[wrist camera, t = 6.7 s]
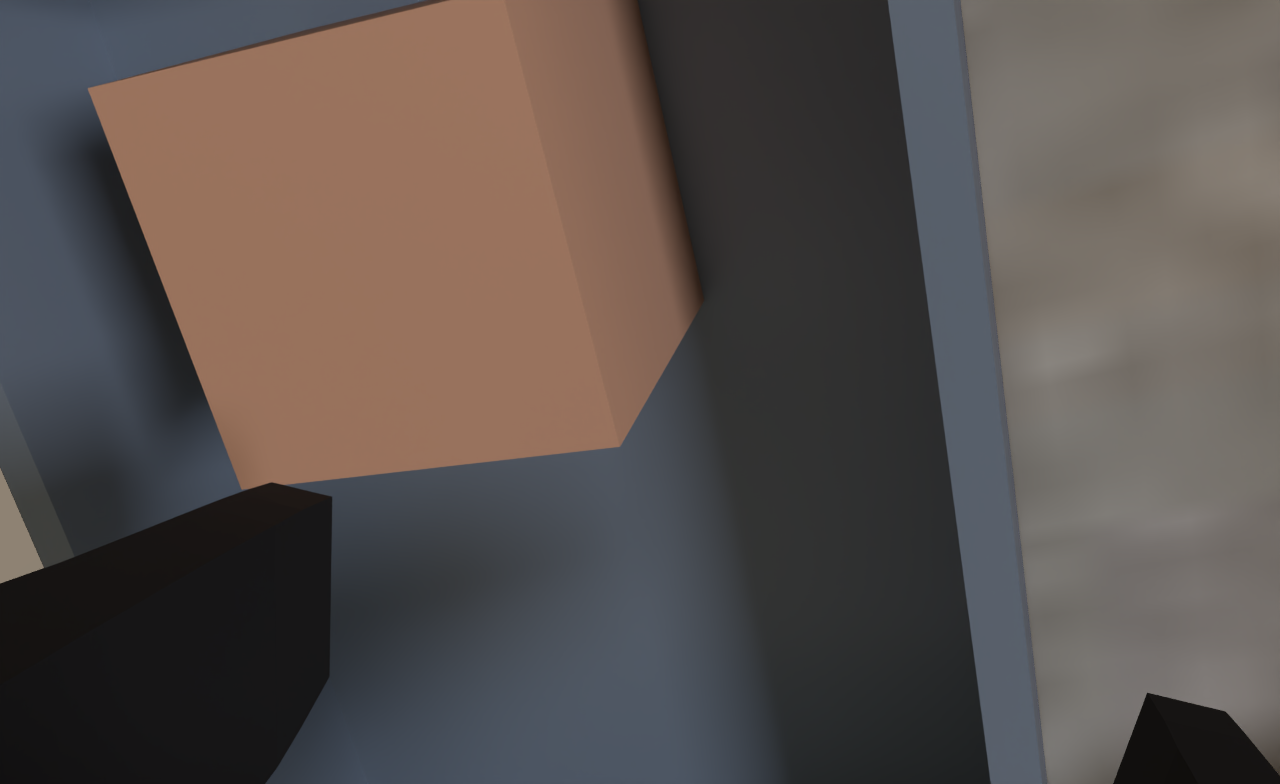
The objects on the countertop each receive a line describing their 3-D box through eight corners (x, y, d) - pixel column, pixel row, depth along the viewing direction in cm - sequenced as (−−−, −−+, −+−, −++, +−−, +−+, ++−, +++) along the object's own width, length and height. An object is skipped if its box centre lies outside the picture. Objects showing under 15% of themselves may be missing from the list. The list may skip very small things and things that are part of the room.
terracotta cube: (627, -49, 16) (501, -13, 12) (704, 300, 18) (620, 446, 14) (305, 29, 18) (87, 88, 13) (405, 345, 20) (241, 489, 15)
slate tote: (1048, 795, 21) (1072, 1051, 16) (366, 797, 25) (235, 1005, 20) (922, -336, 15) (905, -419, 10) (46, -96, 19) (-240, -81, 14)
